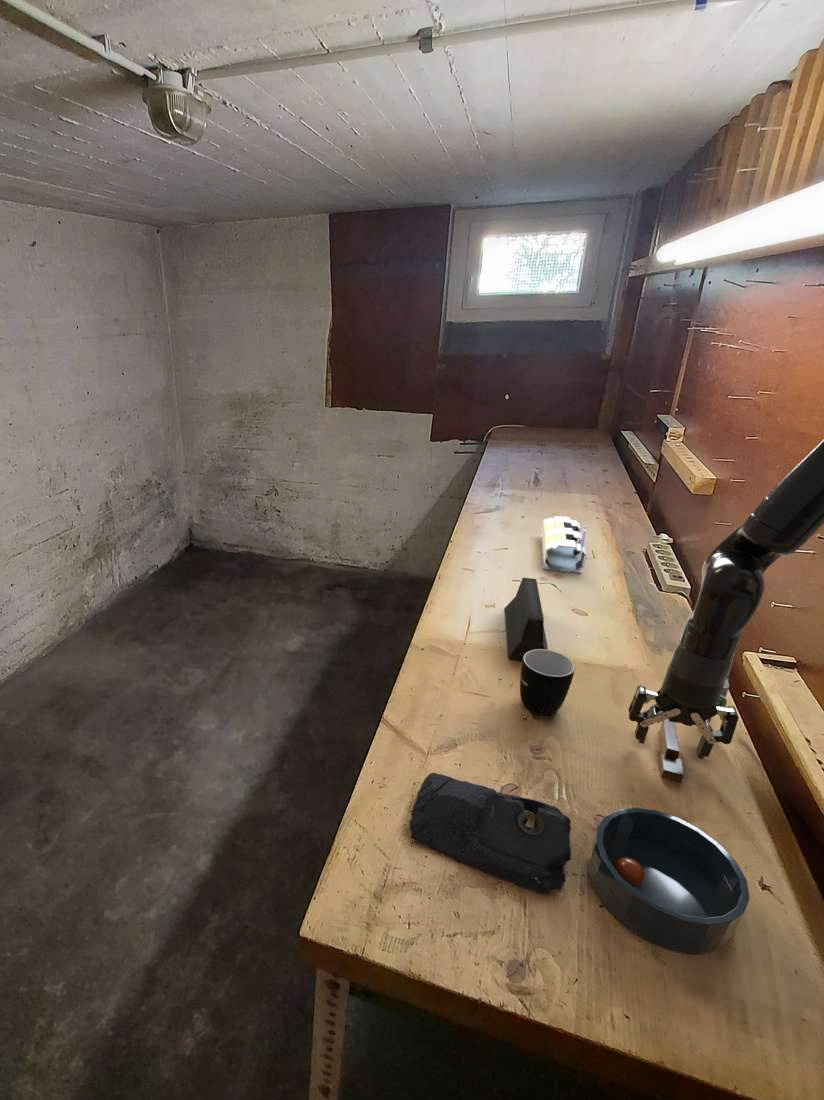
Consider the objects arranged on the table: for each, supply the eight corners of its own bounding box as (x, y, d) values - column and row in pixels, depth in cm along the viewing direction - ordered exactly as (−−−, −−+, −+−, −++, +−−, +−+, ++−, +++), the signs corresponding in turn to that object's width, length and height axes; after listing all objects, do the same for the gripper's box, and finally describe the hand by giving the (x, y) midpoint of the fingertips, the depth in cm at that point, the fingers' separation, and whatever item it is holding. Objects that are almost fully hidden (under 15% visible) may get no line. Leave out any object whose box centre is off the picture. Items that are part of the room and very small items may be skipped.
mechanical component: (691, 740, 100) (708, 695, 95) (693, 708, 107) (709, 665, 103) (711, 746, 98) (729, 701, 94) (712, 713, 106) (729, 670, 101)
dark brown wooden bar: (655, 731, 102) (659, 718, 101) (673, 735, 101) (678, 722, 100) (661, 776, 93) (666, 763, 91) (681, 782, 91) (686, 768, 90)
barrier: (550, 664, 121) (559, 625, 117) (507, 659, 124) (514, 620, 119) (541, 612, 141) (548, 576, 137) (504, 607, 144) (510, 572, 139)
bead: (635, 871, 77) (641, 853, 75) (644, 895, 74) (651, 877, 72) (606, 866, 78) (612, 849, 76) (614, 891, 74) (621, 873, 73)
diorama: (582, 573, 160) (591, 530, 154) (542, 568, 163) (550, 526, 157) (575, 540, 180) (583, 502, 175) (540, 537, 184) (547, 499, 178)
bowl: (698, 846, 81) (711, 817, 78) (760, 967, 66) (778, 936, 64) (574, 829, 84) (582, 800, 81) (608, 940, 70) (619, 910, 67)
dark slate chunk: (427, 771, 95) (430, 749, 93) (570, 817, 86) (576, 795, 84) (401, 841, 83) (403, 818, 81) (564, 904, 74) (571, 880, 72)
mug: (514, 687, 115) (522, 645, 110) (562, 695, 112) (572, 652, 108) (516, 725, 105) (524, 681, 100) (568, 735, 102) (580, 690, 97)
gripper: (748, 668, 89) (715, 746, 96) (644, 648, 95) (621, 722, 102) (758, 696, 83) (723, 776, 90) (647, 672, 89) (622, 749, 96)
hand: (669, 747), depth 96 cm, fingers open, 8 cm apart
